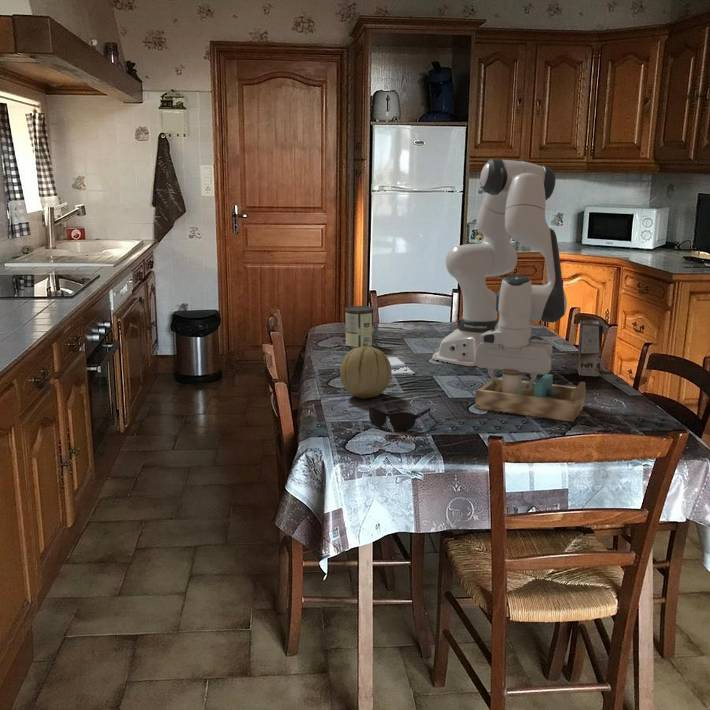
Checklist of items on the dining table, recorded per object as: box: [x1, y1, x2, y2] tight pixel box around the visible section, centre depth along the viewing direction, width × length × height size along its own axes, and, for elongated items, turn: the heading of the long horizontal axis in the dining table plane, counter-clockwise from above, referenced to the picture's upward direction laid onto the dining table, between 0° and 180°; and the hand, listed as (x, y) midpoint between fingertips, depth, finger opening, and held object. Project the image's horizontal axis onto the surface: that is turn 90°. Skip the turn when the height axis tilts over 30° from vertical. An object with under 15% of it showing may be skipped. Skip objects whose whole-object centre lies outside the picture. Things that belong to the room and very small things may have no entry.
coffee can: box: [344, 305, 375, 347], centre depth 282 cm, size 10×10×14 cm
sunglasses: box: [368, 401, 431, 432], centre depth 201 cm, size 14×16×5 cm
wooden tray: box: [474, 377, 587, 422], centre depth 211 cm, size 26×15×7 cm, turn 63°
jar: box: [501, 369, 524, 395], centre depth 213 cm, size 6×6×9 cm
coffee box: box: [576, 319, 604, 377], centre depth 245 cm, size 9×6×16 cm
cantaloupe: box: [339, 343, 393, 399], centre depth 220 cm, size 15×15×15 cm
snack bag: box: [387, 356, 417, 375], centre depth 252 cm, size 19×20×2 cm
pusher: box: [534, 373, 559, 399], centre depth 209 cm, size 5×12×7 cm, turn 153°
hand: (511, 386), depth 213 cm, fingers open, 8 cm apart
